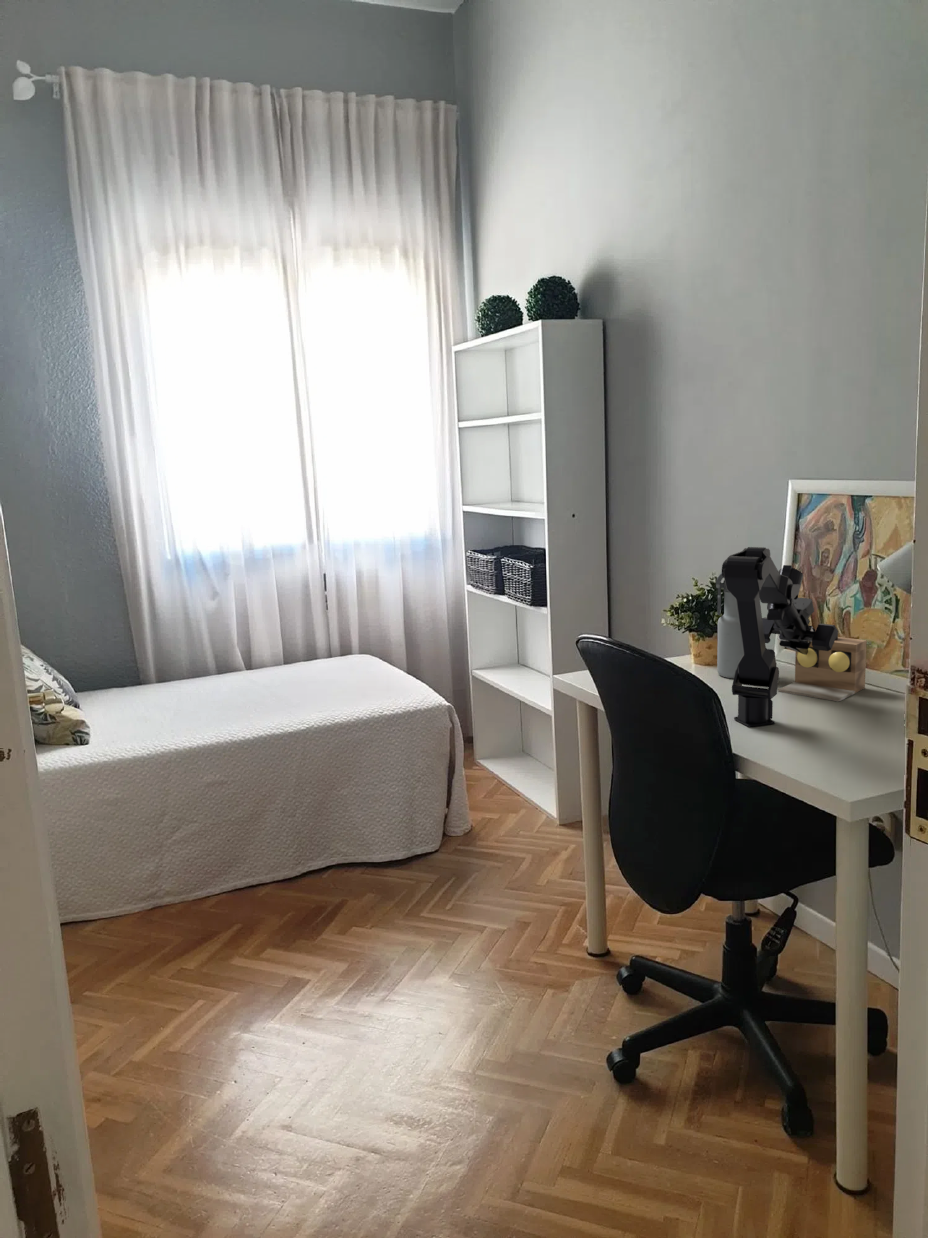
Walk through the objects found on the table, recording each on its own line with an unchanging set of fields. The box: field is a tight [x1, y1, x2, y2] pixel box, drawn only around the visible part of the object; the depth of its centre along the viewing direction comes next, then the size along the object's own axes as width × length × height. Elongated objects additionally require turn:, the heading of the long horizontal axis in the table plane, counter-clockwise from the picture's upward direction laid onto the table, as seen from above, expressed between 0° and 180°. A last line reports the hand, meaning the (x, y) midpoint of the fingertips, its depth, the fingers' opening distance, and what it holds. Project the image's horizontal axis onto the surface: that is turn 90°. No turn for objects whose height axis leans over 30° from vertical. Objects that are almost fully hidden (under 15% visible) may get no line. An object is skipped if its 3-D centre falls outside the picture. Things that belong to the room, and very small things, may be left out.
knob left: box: [797, 647, 819, 667], centre depth 237 cm, size 8×5×5 cm, turn 135°
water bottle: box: [715, 571, 744, 680], centre depth 248 cm, size 10×10×28 cm
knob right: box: [829, 651, 851, 672], centre depth 231 cm, size 8×5×5 cm, turn 135°
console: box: [778, 633, 868, 702], centre depth 232 cm, size 14×15×14 cm
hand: (805, 653), depth 234 cm, fingers closed, pressing on knob left
